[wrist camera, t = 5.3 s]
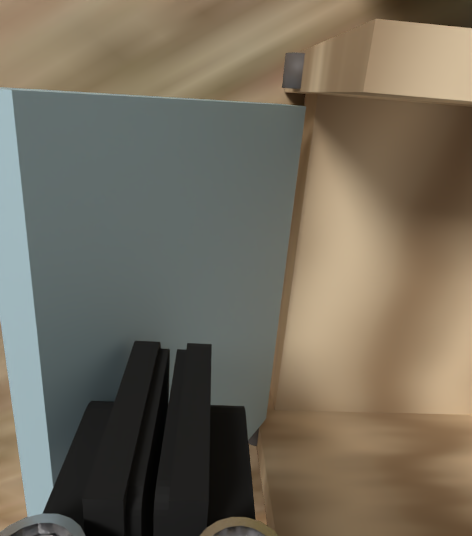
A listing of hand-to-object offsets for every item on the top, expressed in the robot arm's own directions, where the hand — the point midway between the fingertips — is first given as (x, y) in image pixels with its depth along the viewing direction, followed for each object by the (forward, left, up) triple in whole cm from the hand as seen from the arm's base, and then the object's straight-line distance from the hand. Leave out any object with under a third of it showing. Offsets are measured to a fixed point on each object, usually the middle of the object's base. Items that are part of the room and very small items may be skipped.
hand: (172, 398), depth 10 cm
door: (+1, 0, -3) cm, 4 cm away
